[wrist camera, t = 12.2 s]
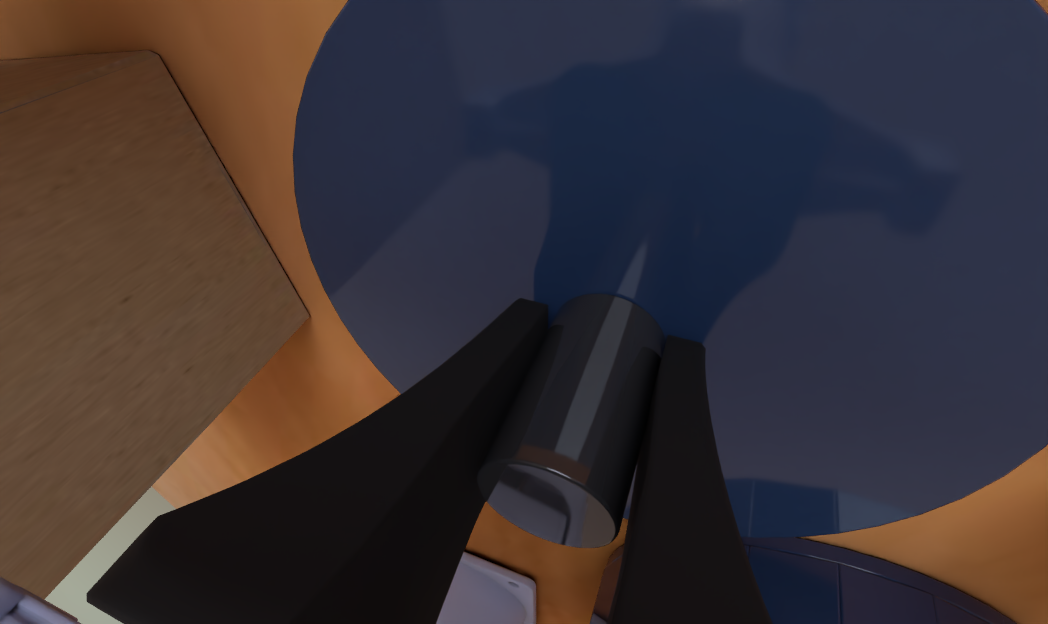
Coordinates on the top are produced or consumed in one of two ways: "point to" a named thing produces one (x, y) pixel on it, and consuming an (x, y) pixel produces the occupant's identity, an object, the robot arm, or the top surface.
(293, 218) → the top surface
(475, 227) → the lid
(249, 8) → the top surface
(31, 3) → the top surface
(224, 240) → the sandwich container
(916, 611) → the pot
